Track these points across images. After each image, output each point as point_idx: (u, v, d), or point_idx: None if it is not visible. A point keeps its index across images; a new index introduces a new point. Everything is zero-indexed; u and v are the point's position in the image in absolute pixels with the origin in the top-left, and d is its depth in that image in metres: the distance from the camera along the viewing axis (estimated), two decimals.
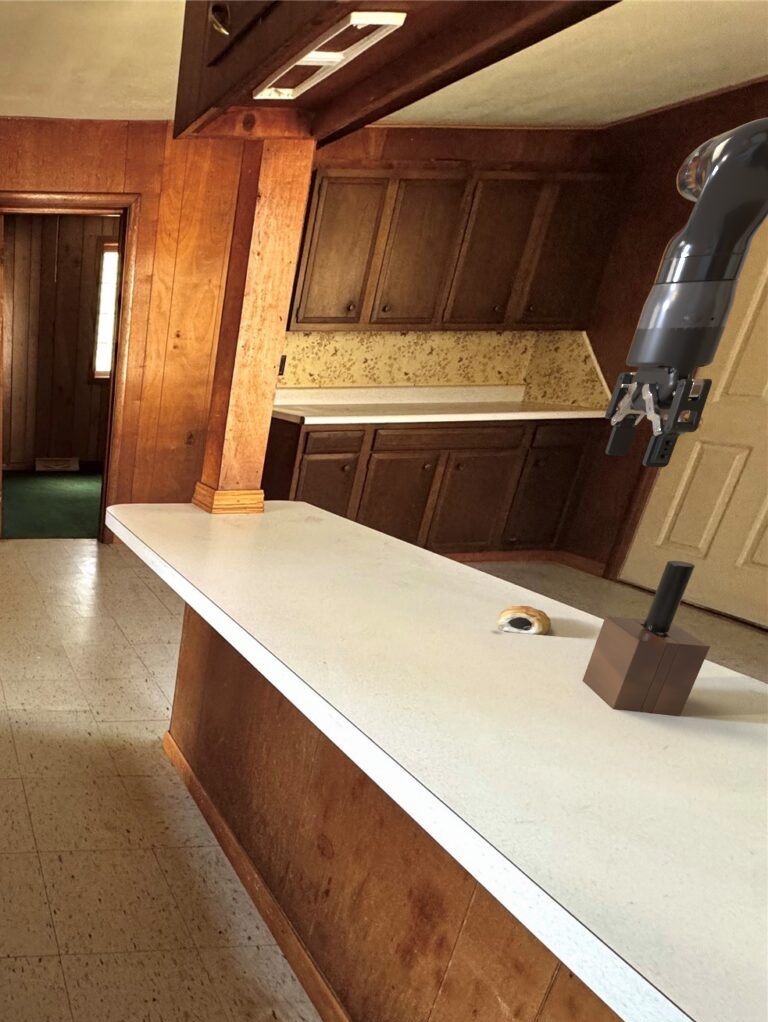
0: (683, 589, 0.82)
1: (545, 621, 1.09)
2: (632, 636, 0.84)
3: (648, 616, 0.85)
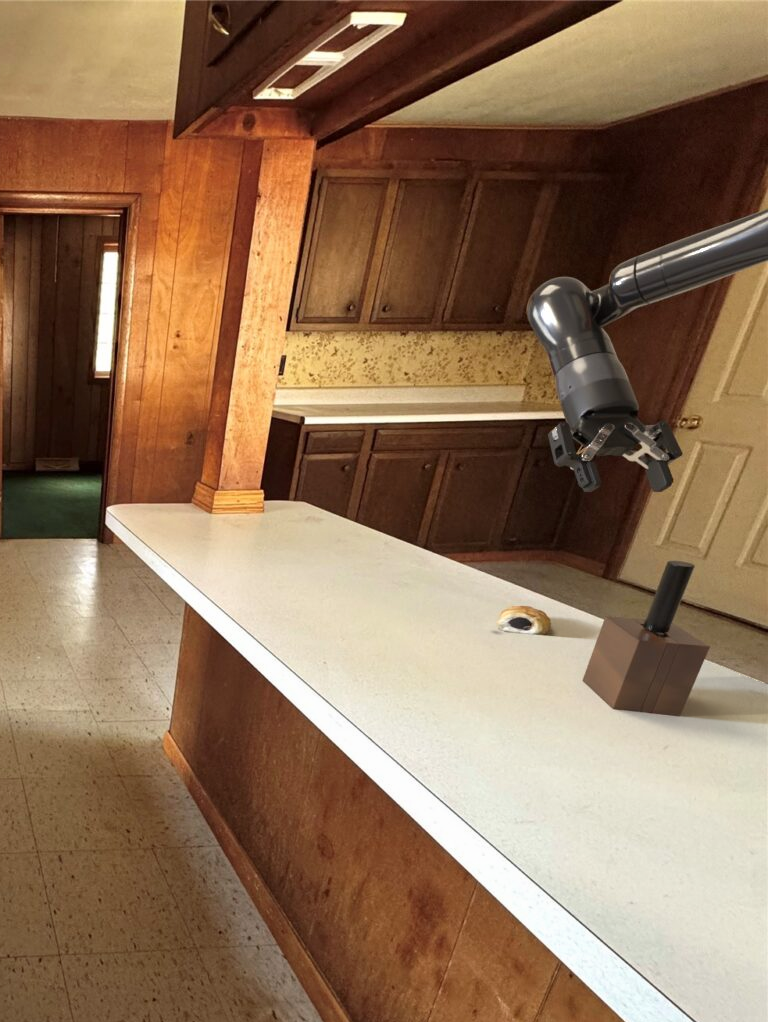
0: (683, 589, 0.82)
1: (545, 621, 1.09)
2: (632, 636, 0.84)
3: (648, 616, 0.85)
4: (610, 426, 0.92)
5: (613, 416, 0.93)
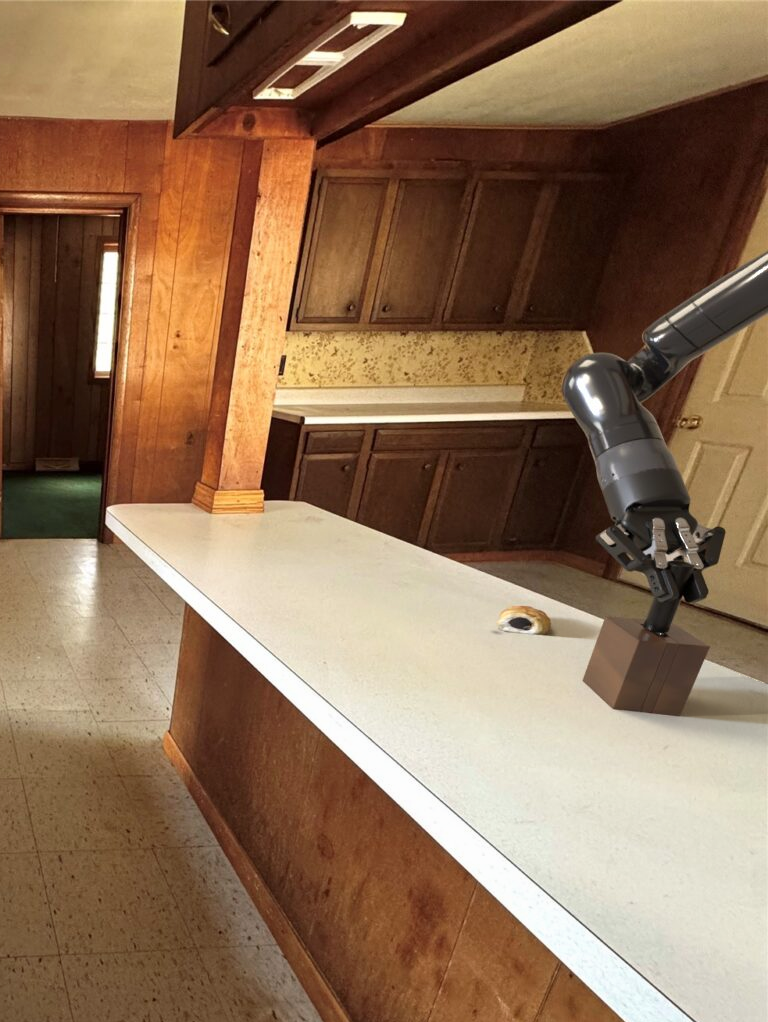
0: (683, 589, 0.82)
1: (545, 621, 1.09)
2: (632, 636, 0.84)
3: (648, 616, 0.85)
4: (659, 521, 0.84)
5: (662, 509, 0.85)
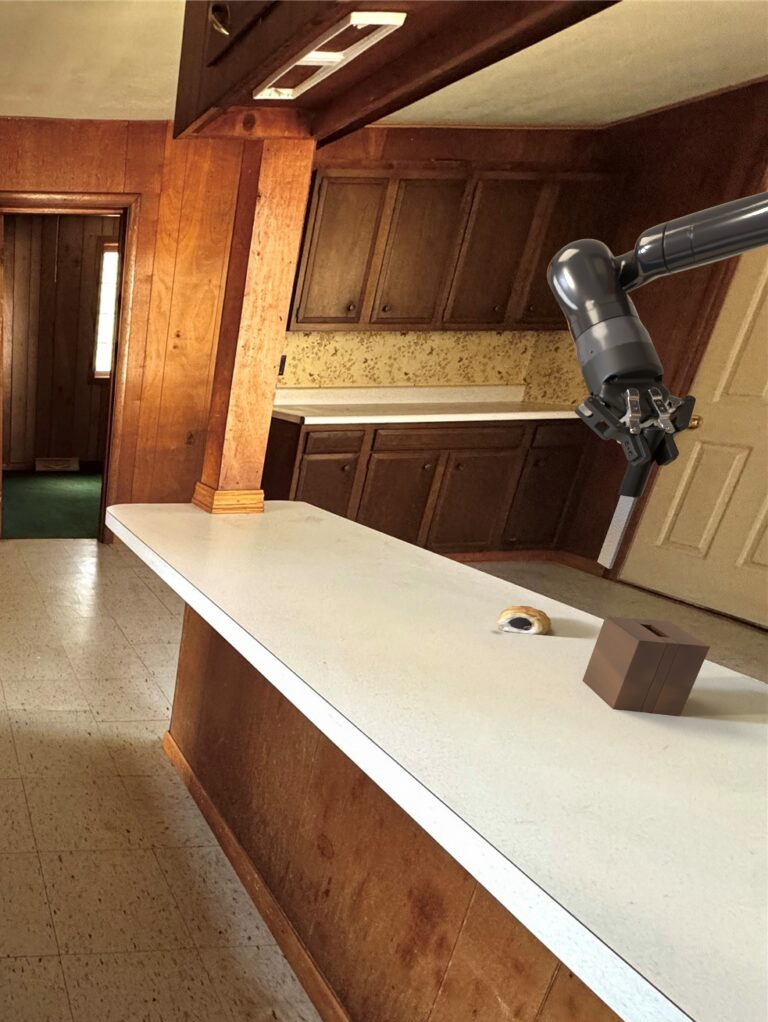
0: (655, 452, 0.87)
1: (545, 621, 1.09)
2: (632, 636, 0.84)
3: (622, 482, 0.90)
4: (634, 391, 0.89)
5: (636, 381, 0.90)
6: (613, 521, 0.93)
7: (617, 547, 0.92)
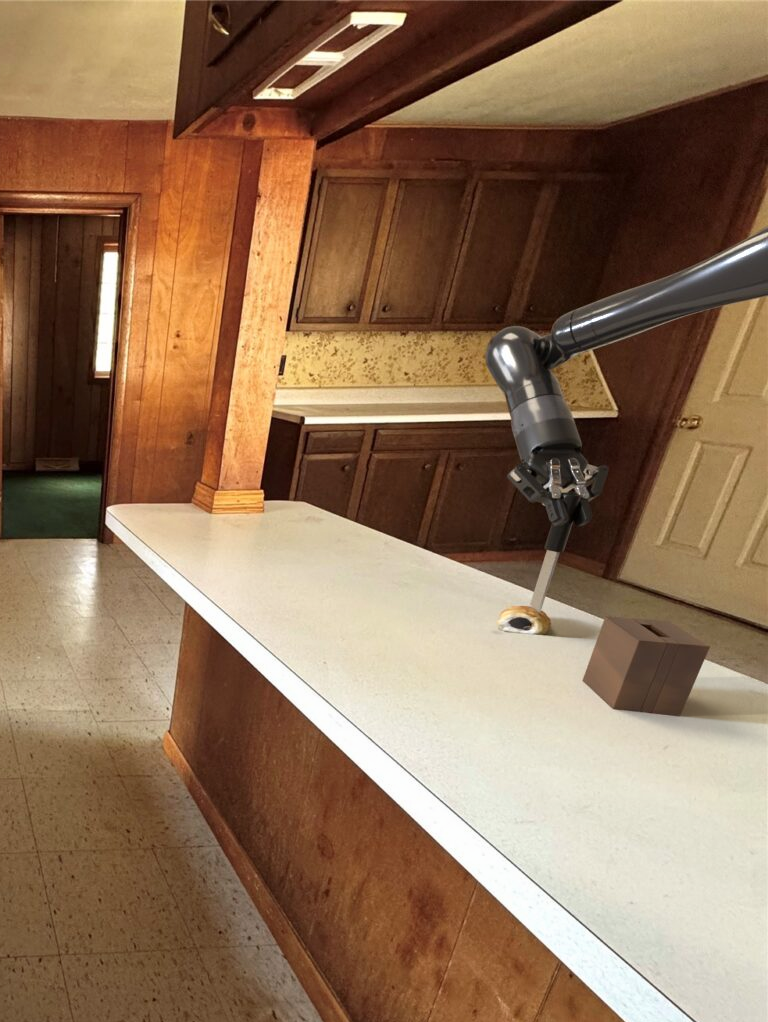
0: (573, 515, 1.02)
1: (545, 621, 1.09)
2: (632, 636, 0.84)
3: (547, 539, 1.05)
4: (556, 461, 1.03)
5: (559, 451, 1.05)
6: (541, 571, 1.07)
7: (544, 594, 1.06)
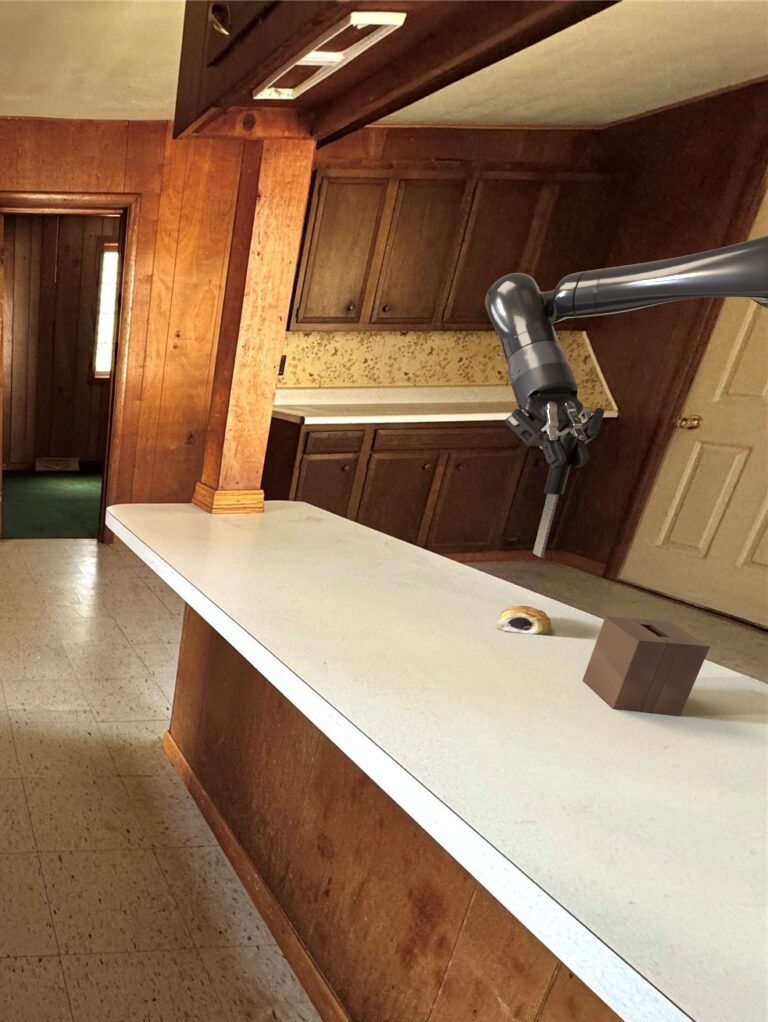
0: (570, 456, 1.03)
1: (545, 621, 1.09)
2: (632, 636, 0.84)
3: (546, 482, 1.06)
4: (553, 404, 1.05)
5: (556, 396, 1.06)
6: (542, 517, 1.08)
7: (545, 538, 1.06)
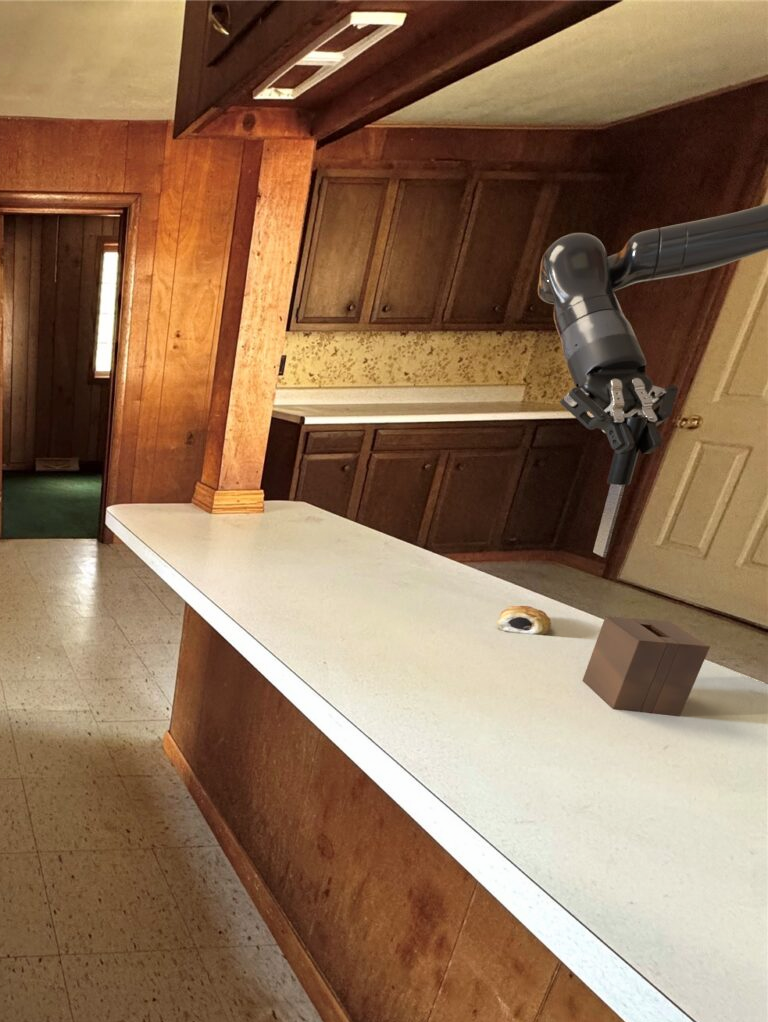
0: (638, 440, 0.89)
1: (545, 621, 1.09)
2: (632, 636, 0.84)
3: (610, 471, 0.92)
4: (617, 381, 0.91)
5: (620, 372, 0.93)
6: (605, 510, 0.94)
7: (609, 535, 0.93)
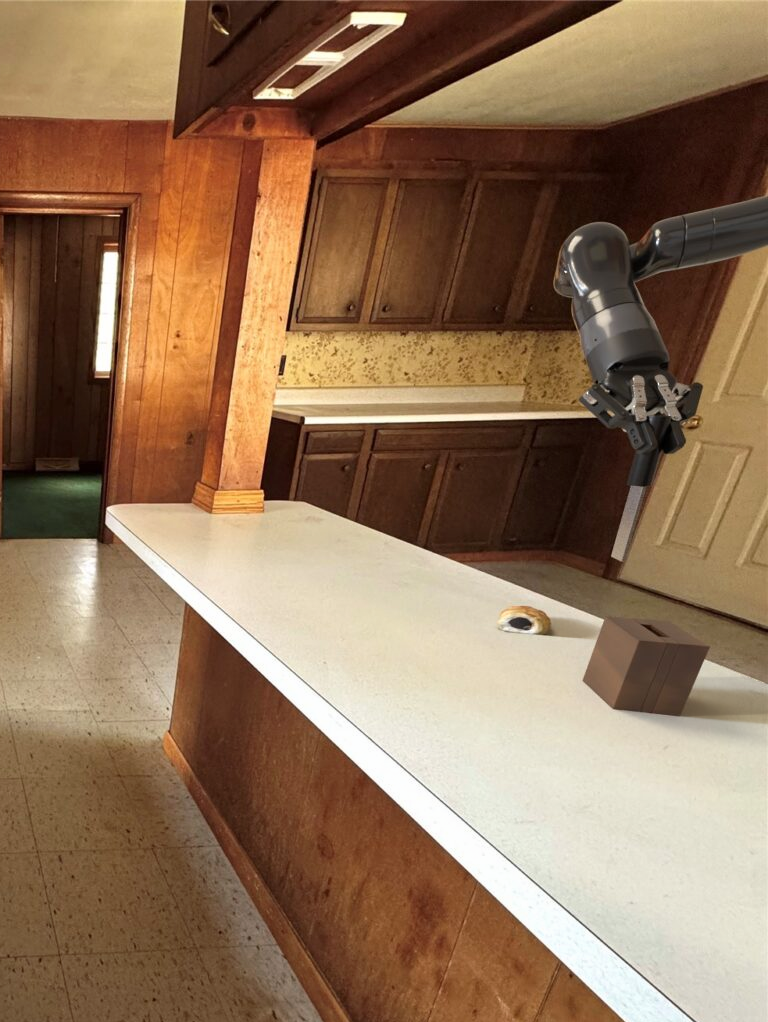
0: (661, 440, 0.85)
1: (545, 621, 1.09)
2: (632, 636, 0.84)
3: (630, 472, 0.88)
4: (639, 378, 0.87)
5: (642, 368, 0.88)
6: (624, 513, 0.90)
7: (629, 539, 0.89)
